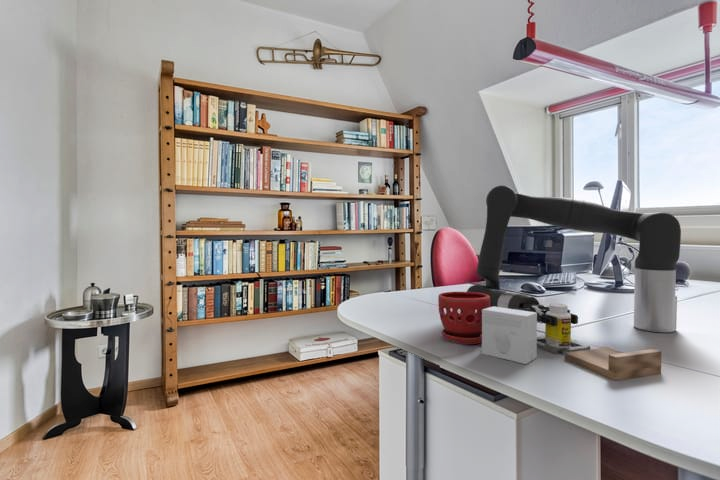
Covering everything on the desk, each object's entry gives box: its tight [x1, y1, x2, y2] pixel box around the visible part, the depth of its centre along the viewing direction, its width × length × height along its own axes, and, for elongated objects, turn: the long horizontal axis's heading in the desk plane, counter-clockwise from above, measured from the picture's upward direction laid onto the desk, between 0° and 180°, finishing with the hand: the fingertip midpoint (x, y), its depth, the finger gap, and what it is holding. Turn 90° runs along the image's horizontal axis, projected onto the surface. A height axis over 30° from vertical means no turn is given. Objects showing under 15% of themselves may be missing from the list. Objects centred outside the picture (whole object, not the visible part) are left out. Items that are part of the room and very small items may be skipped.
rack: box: [564, 347, 662, 381], centre depth 79 cm, size 12×12×4 cm
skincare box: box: [481, 306, 538, 365], centre depth 86 cm, size 10×6×10 cm, turn 45°
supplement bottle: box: [544, 302, 572, 349], centre depth 92 cm, size 6×6×10 cm
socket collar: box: [537, 335, 591, 355], centre depth 92 cm, size 10×10×1 cm
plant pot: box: [437, 291, 490, 345], centre depth 98 cm, size 13×13×12 cm
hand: (566, 320), depth 90 cm, fingers closed on supplement bottle, 5 cm apart
